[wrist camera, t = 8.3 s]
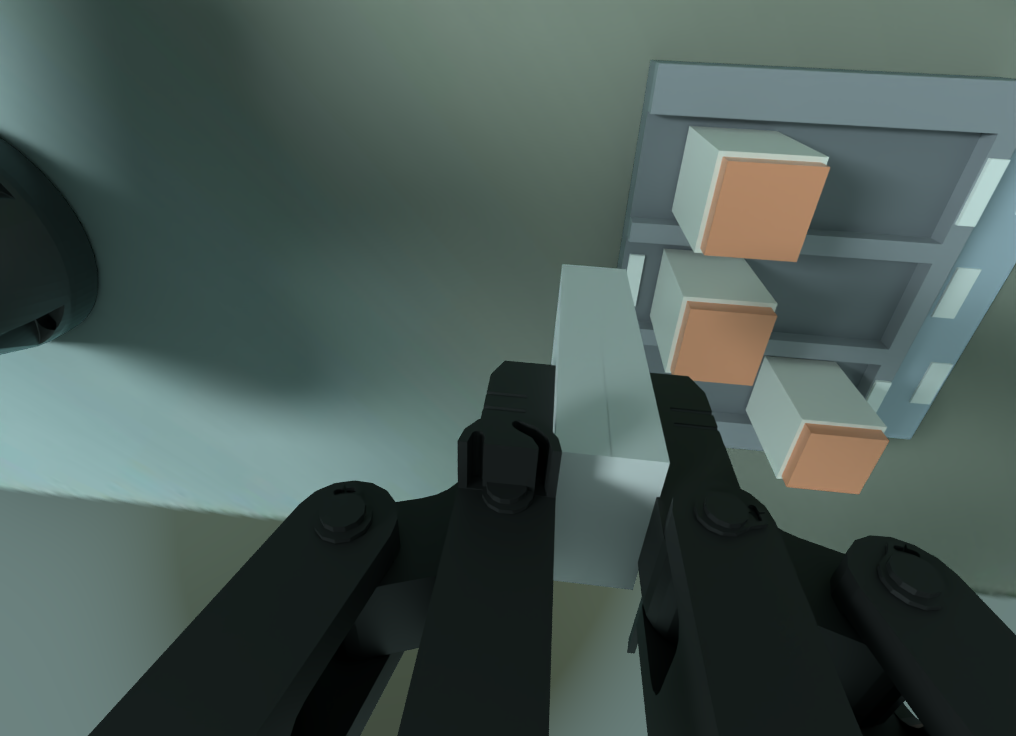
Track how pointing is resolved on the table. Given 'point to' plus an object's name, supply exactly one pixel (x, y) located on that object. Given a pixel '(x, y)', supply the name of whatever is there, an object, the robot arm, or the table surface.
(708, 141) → the white orange-topped block
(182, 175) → the table surface
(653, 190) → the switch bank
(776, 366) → the orange topped white block
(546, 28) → the table surface
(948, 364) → the label card
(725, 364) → the orange-topped white block
